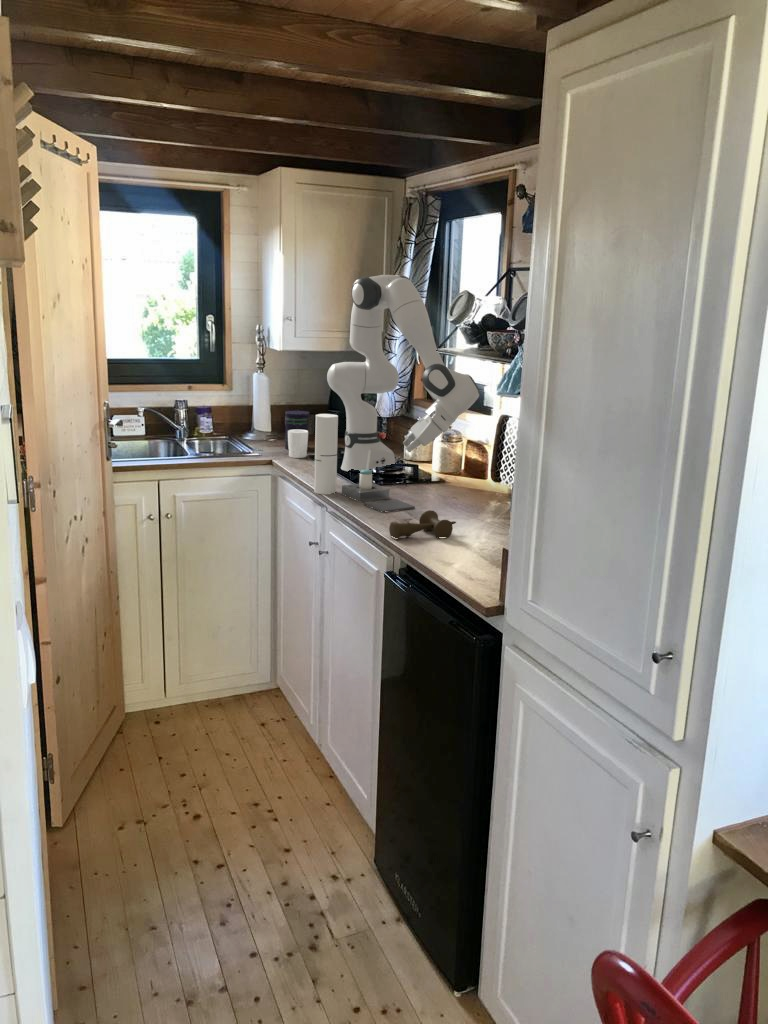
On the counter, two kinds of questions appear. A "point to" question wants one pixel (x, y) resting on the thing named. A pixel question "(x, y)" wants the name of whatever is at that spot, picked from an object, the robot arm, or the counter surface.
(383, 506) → the mat
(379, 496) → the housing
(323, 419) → the cylindrical container
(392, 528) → the kendama
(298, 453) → the white cup
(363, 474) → the white bottle teal cap
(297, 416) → the storage jar
